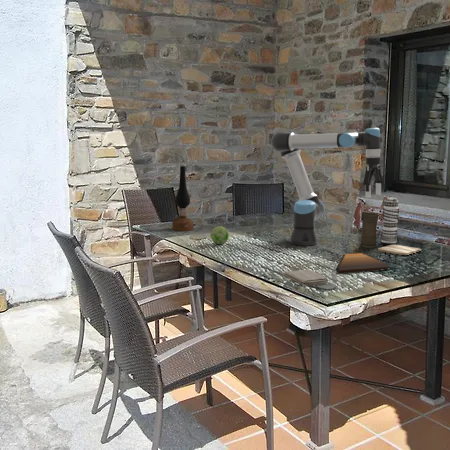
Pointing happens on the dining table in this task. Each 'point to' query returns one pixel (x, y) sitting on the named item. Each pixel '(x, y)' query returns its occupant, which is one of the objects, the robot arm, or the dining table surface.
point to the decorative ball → (219, 235)
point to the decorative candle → (390, 220)
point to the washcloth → (306, 277)
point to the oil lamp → (182, 206)
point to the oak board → (398, 249)
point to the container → (369, 230)
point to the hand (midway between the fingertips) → (373, 196)
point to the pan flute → (359, 263)
